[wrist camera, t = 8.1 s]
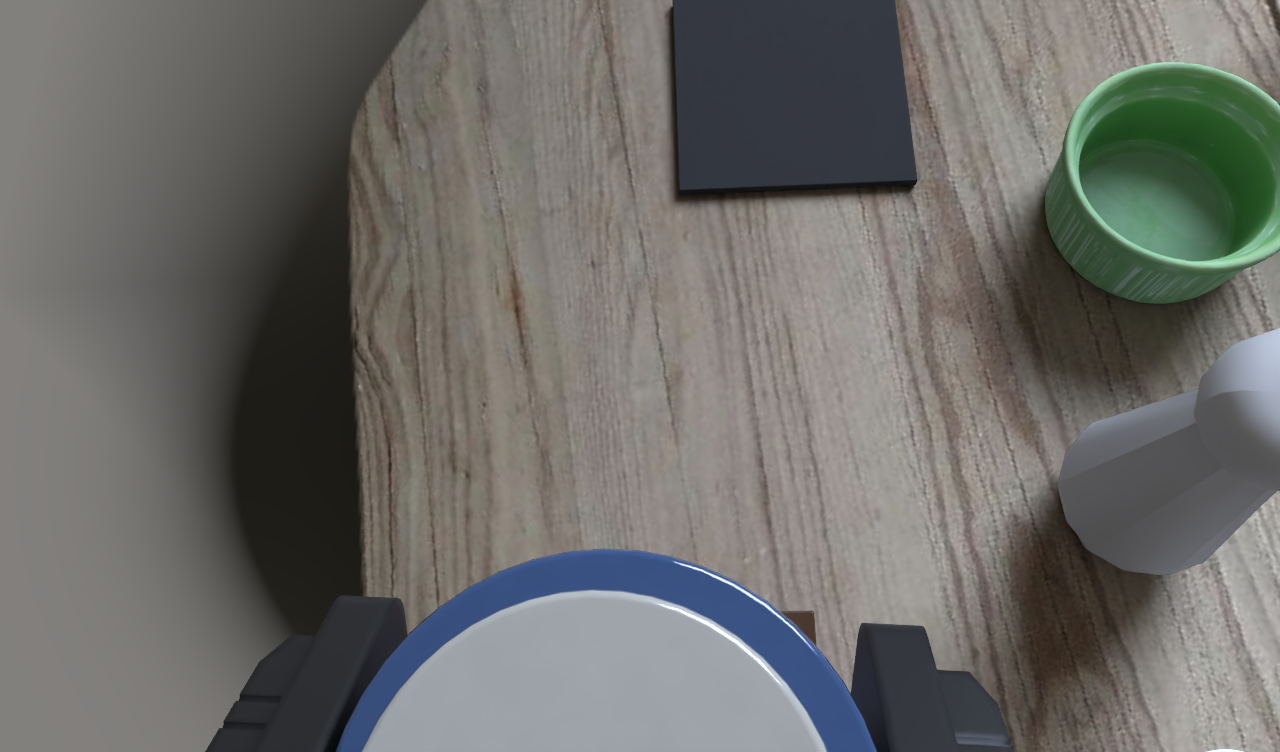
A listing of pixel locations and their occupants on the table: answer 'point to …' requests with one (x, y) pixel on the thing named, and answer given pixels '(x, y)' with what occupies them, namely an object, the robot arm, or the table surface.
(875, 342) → the table surface
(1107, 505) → the salt shaker
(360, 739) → the blue cylinder
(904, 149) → the coaster
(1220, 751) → the chess piece
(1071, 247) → the ramekin
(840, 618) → the table surface
